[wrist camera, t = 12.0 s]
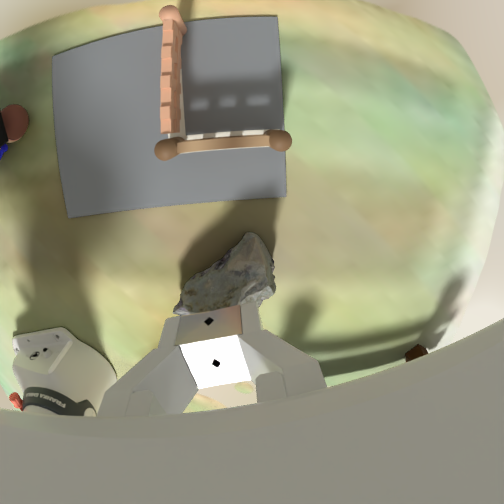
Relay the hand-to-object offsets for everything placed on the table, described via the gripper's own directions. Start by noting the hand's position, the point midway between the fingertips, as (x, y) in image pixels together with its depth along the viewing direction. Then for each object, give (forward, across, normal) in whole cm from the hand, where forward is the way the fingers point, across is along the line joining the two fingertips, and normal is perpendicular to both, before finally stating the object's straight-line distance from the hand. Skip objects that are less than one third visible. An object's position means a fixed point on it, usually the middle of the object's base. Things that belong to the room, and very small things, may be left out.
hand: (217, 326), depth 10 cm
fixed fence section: (+27, -1, -5) cm, 27 cm away
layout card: (+27, +6, -10) cm, 29 cm away
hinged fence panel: (+26, +3, -13) cm, 29 cm away
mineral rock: (+28, +3, +11) cm, 30 cm away
